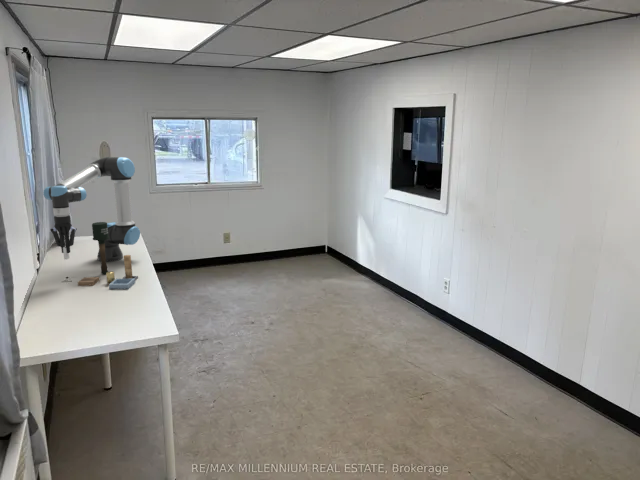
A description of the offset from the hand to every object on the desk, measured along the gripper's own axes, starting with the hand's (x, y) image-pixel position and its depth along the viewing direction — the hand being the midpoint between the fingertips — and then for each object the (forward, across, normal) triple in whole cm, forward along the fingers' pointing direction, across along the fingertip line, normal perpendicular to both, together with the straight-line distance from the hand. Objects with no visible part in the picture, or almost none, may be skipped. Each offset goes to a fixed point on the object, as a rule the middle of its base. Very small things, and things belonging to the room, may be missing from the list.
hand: (66, 258), depth 256 cm
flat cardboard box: (+14, +10, 0) cm, 18 cm away
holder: (+14, +30, +6) cm, 34 cm away
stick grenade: (+14, +12, +16) cm, 25 cm away
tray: (+14, +30, -4) cm, 33 cm away
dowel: (+14, +30, +5) cm, 34 cm away
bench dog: (+14, +22, 0) cm, 26 cm away
